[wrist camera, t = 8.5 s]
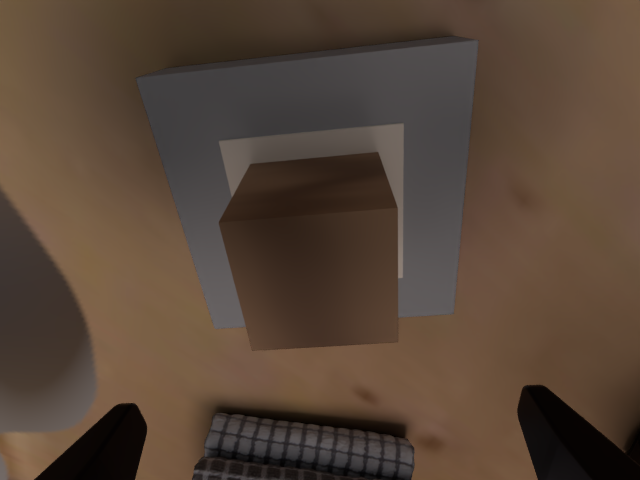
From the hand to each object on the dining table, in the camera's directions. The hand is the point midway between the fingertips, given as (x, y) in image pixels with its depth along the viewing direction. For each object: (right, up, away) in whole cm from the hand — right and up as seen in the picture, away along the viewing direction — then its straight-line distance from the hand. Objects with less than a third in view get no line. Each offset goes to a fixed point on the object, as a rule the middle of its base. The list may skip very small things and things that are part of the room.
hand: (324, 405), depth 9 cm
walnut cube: (0, +5, +7) cm, 9 cm away
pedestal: (0, +6, +10) cm, 12 cm away
